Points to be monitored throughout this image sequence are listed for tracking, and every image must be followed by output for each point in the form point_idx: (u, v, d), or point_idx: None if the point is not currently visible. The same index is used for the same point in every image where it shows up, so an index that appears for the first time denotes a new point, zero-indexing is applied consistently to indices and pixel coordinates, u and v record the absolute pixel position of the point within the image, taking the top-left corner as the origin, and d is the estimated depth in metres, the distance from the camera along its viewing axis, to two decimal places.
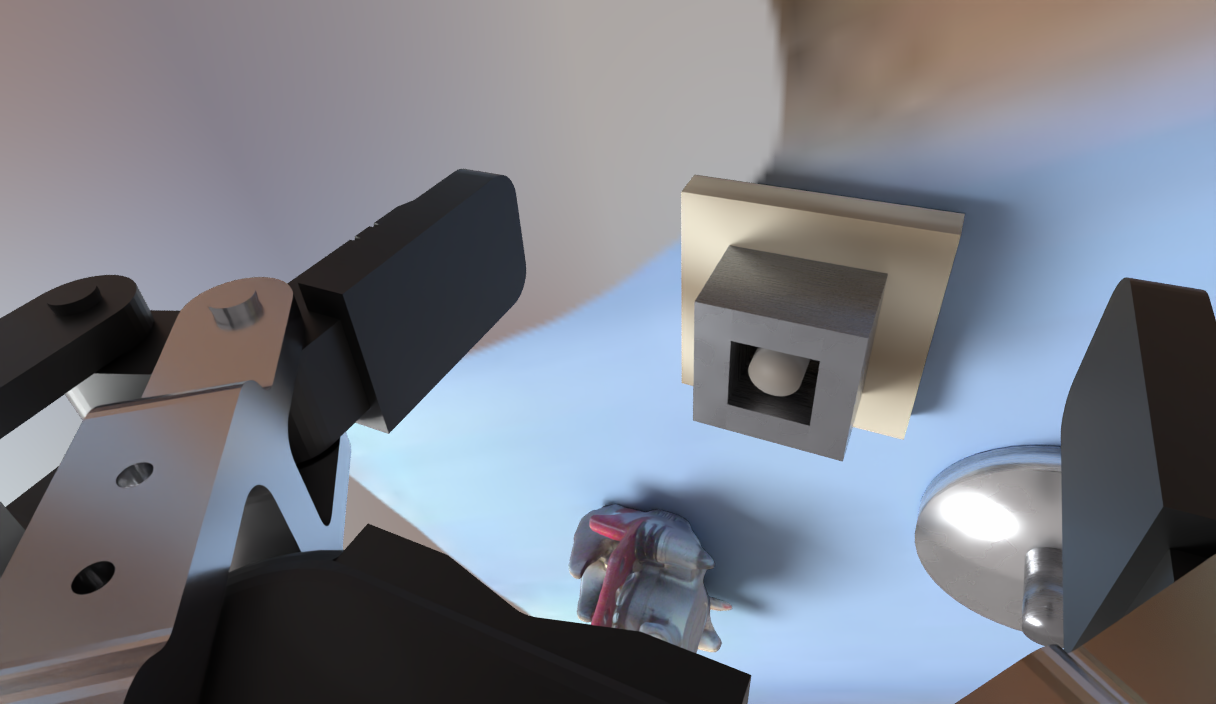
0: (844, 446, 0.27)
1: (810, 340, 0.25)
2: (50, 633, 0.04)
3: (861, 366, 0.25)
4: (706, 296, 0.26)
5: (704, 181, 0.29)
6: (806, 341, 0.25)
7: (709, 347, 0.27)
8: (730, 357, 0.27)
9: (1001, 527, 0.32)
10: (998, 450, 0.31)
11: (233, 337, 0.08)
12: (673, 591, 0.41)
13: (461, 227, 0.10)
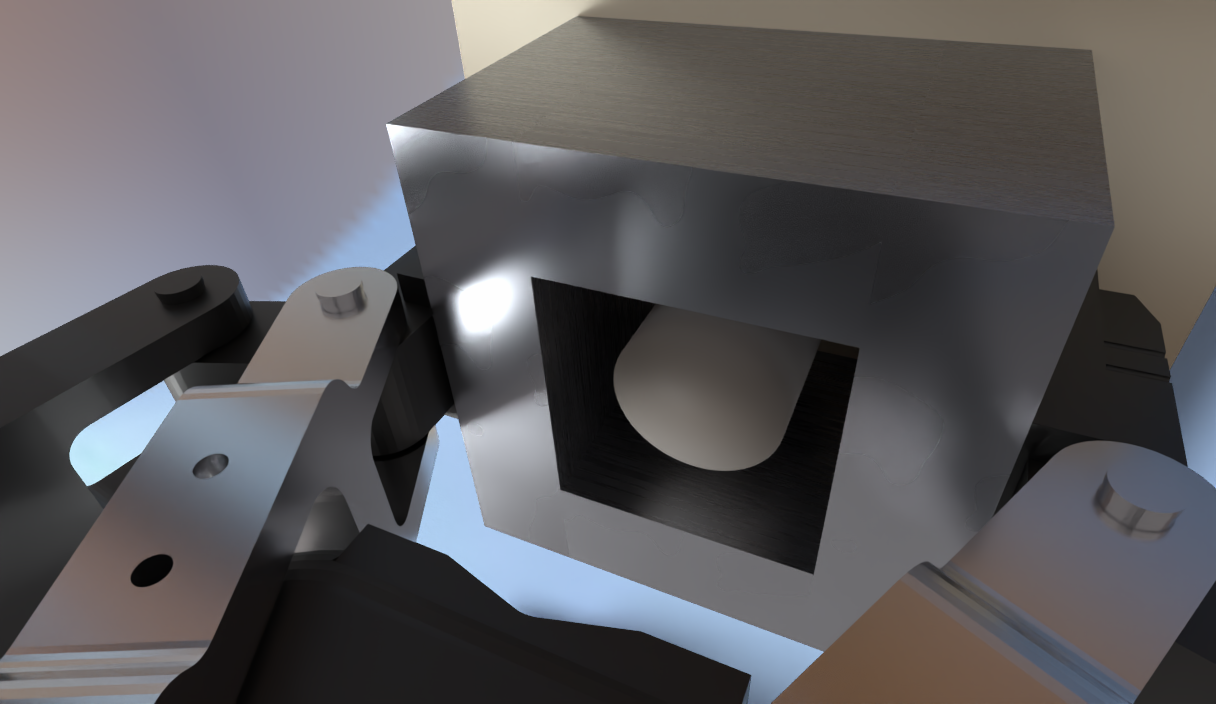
0: None
1: (822, 254, 0.06)
2: (103, 624, 0.04)
3: (1048, 369, 0.06)
4: (439, 111, 0.07)
5: None
6: (805, 262, 0.06)
7: (475, 306, 0.08)
8: (544, 340, 0.08)
9: None
10: None
11: (346, 326, 0.08)
12: None
13: None
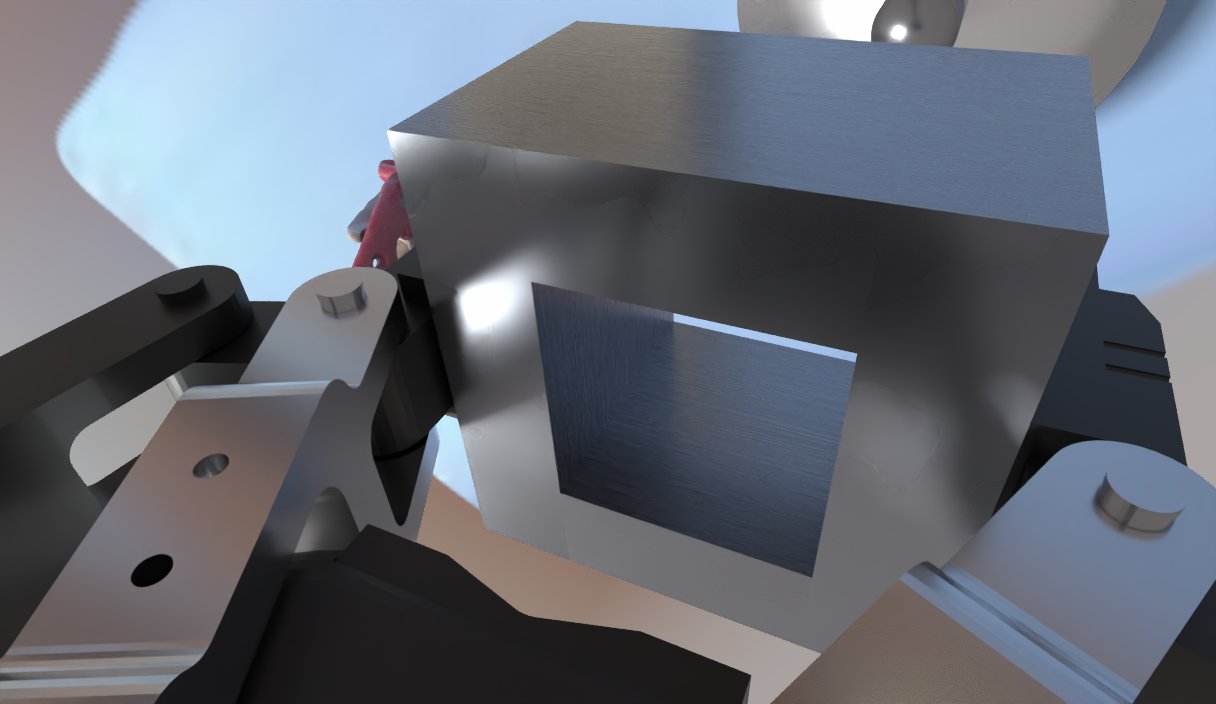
0: None
1: (820, 261, 0.06)
2: (103, 622, 0.04)
3: (1044, 375, 0.06)
4: (439, 117, 0.07)
5: None
6: (803, 268, 0.06)
7: (476, 311, 0.08)
8: (544, 344, 0.08)
9: None
10: None
11: (346, 326, 0.08)
12: None
13: None
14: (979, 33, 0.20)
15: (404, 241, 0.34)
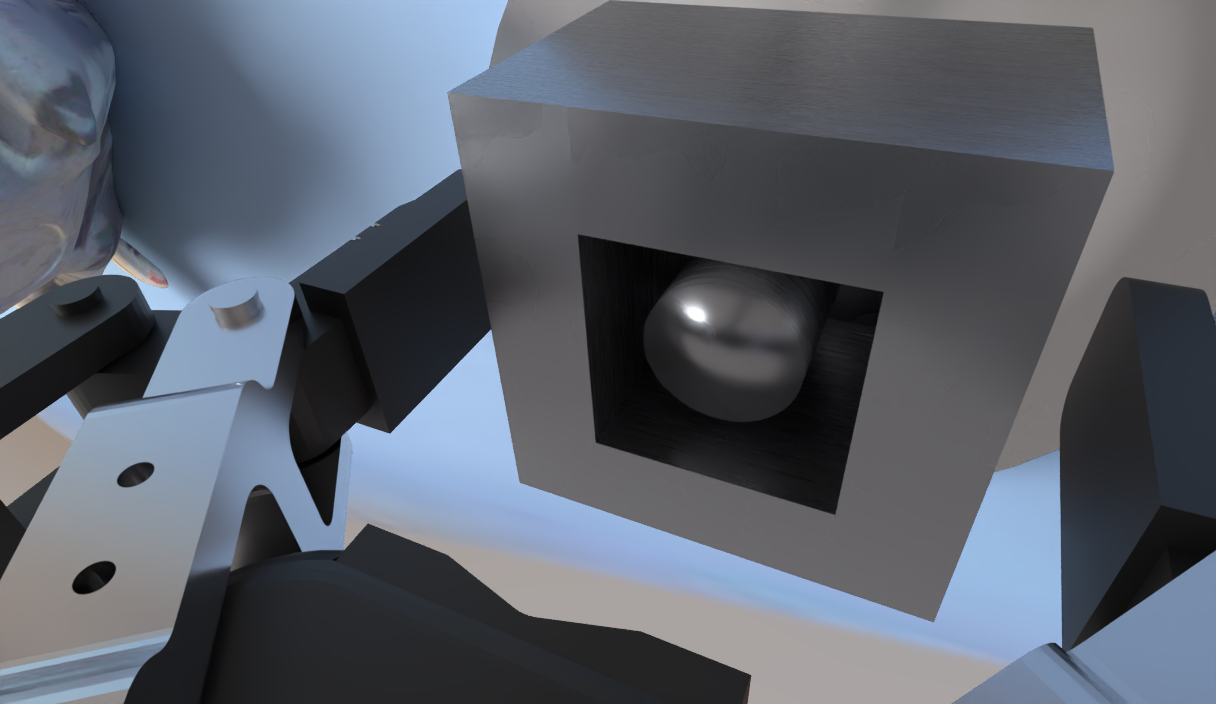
0: (944, 582, 0.09)
1: (851, 205, 0.06)
2: (53, 632, 0.04)
3: (1055, 306, 0.06)
4: (494, 81, 0.08)
5: None
6: (835, 212, 0.07)
7: (522, 265, 0.09)
8: (587, 296, 0.09)
9: None
10: None
11: (235, 337, 0.08)
12: None
13: (462, 227, 0.10)
14: None
15: None
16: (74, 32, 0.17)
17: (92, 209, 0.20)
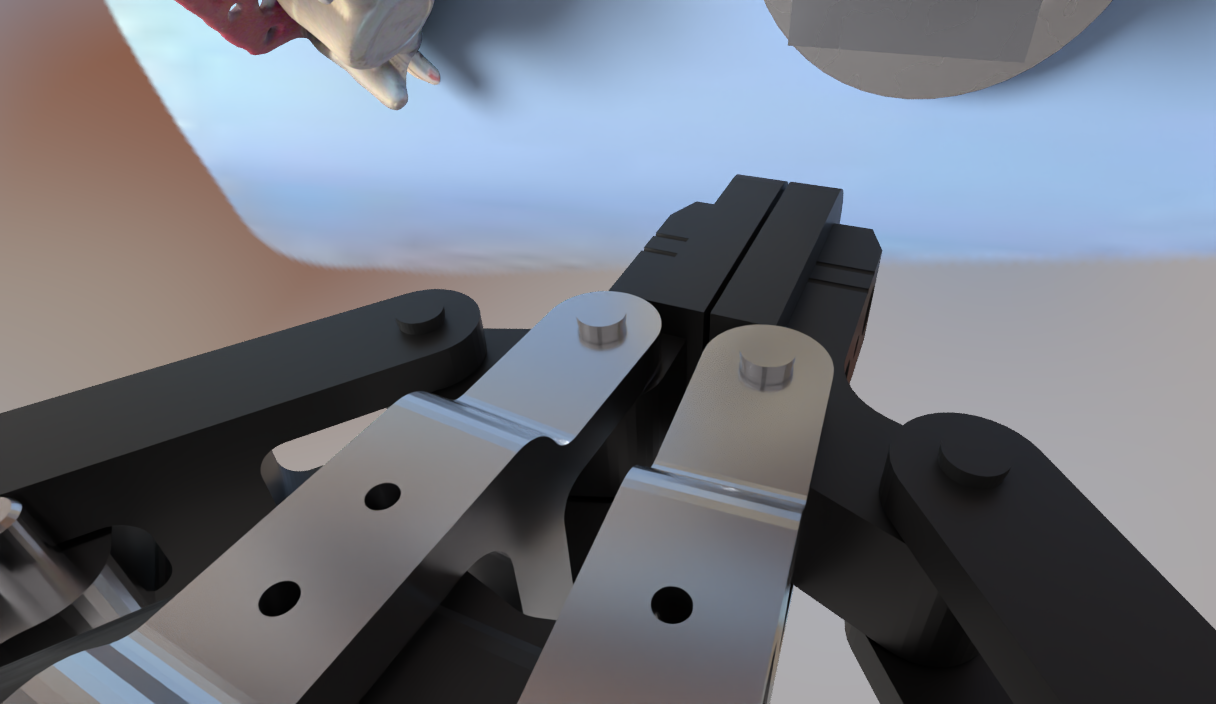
0: (1032, 28, 0.18)
1: None
2: (216, 640, 0.04)
3: None
4: None
5: None
6: None
7: None
8: None
9: None
10: None
11: (623, 362, 0.07)
12: None
13: None
14: None
15: None
16: None
17: None
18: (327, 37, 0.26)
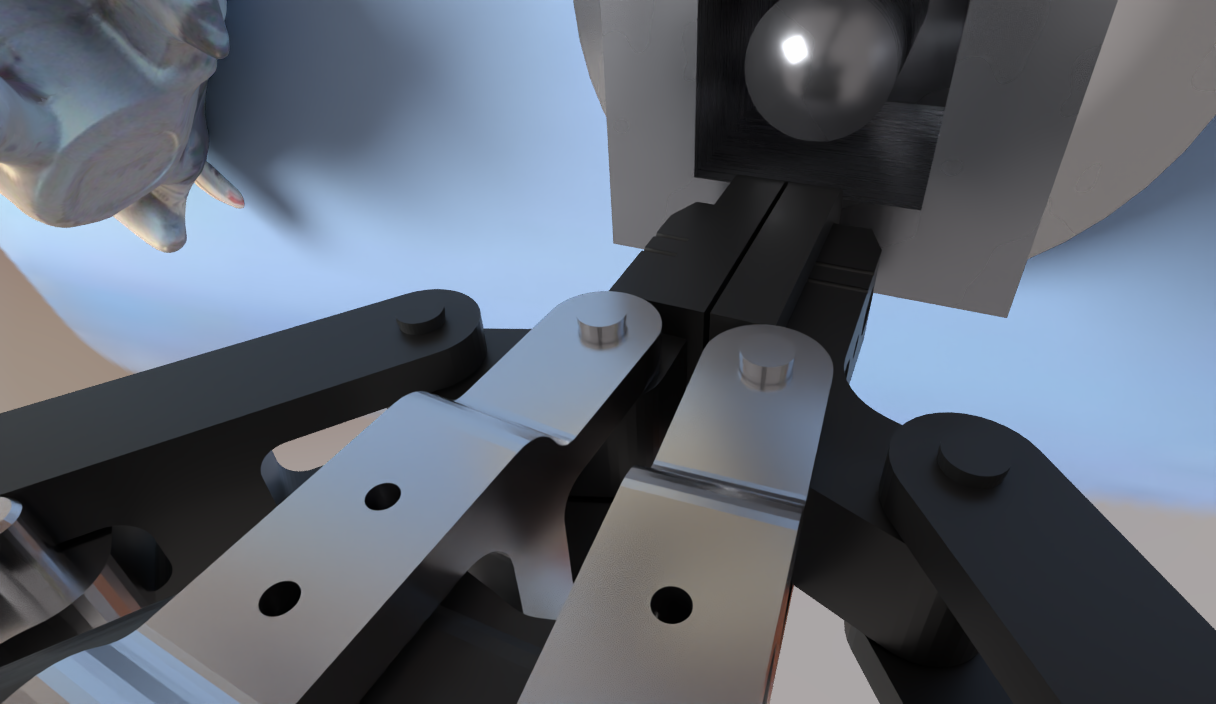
0: (1020, 266, 0.10)
1: None
2: (215, 639, 0.04)
3: None
4: None
5: None
6: None
7: None
8: (700, 8, 0.10)
9: None
10: None
11: (623, 362, 0.07)
12: (100, 56, 0.17)
13: None
14: None
15: None
16: None
17: None
18: (2, 194, 0.18)
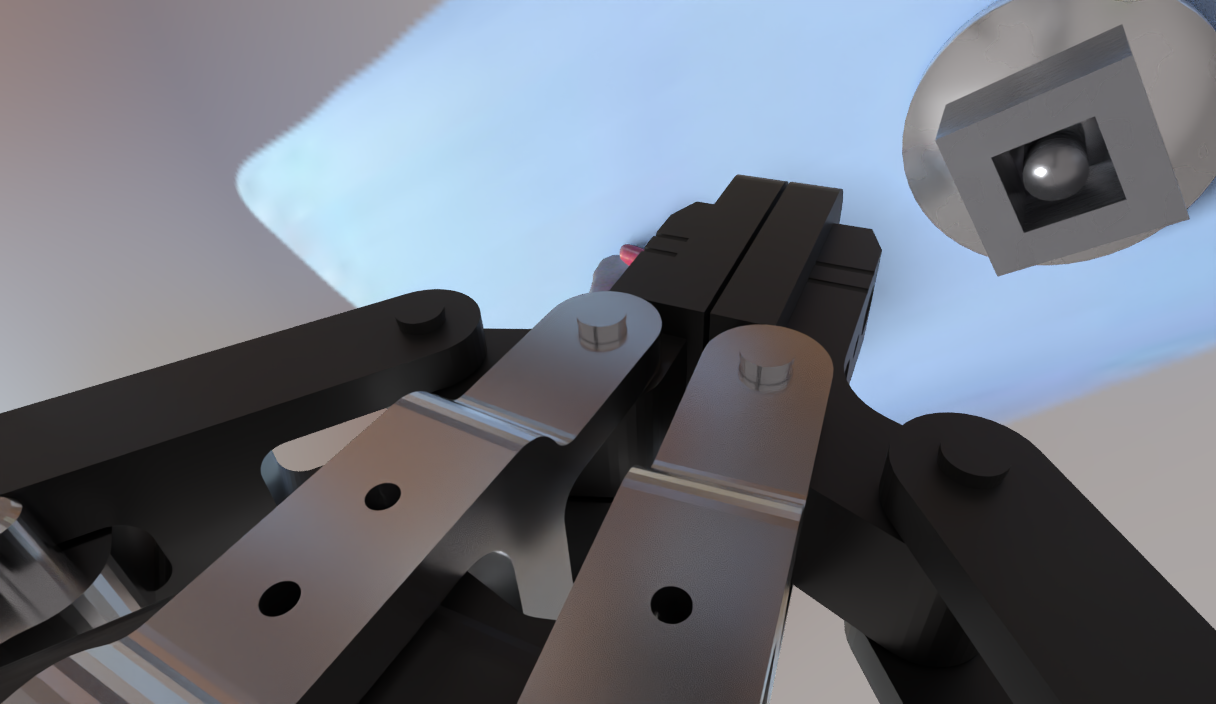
0: (1180, 198, 0.24)
1: (1071, 99, 0.24)
2: (215, 639, 0.04)
3: (1143, 91, 0.23)
4: (944, 132, 0.27)
5: None
6: (1068, 104, 0.24)
7: (974, 179, 0.27)
8: (1000, 177, 0.26)
9: None
10: (998, 1, 0.28)
11: (623, 362, 0.07)
12: None
13: None
14: None
15: None
16: None
17: None
18: None
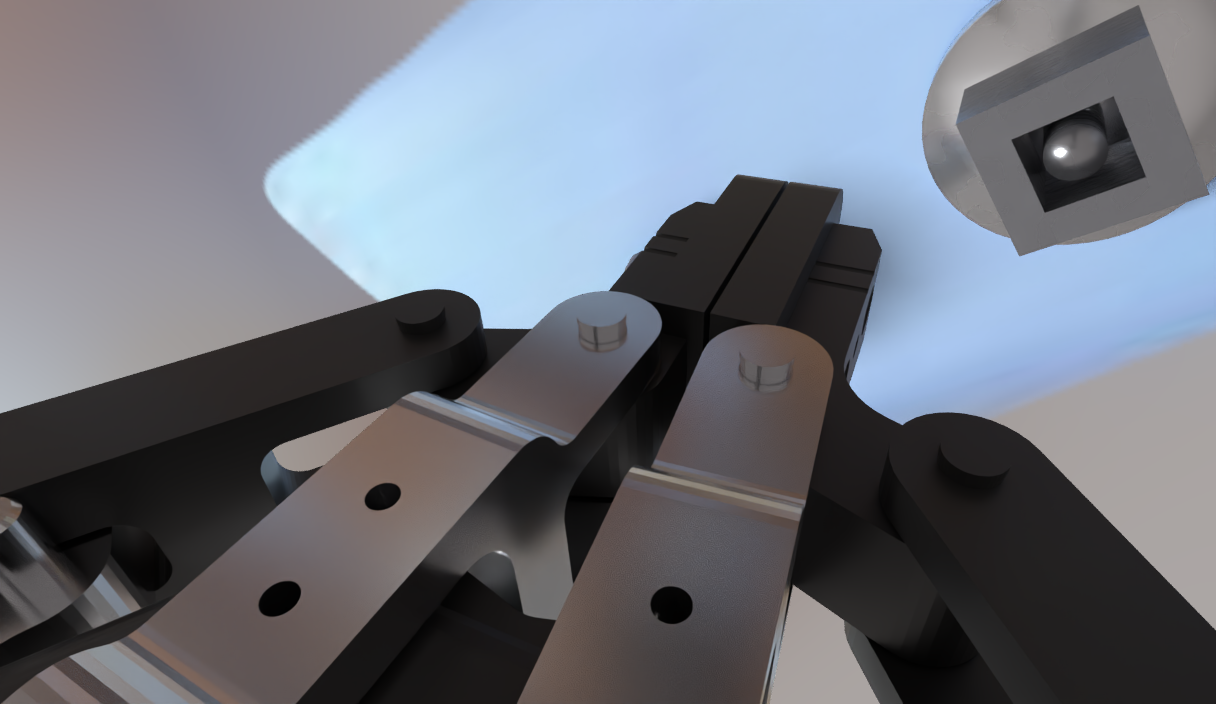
0: (1199, 174, 0.25)
1: (1090, 81, 0.24)
2: (215, 641, 0.04)
3: (1161, 70, 0.24)
4: (964, 116, 0.27)
5: None
6: (1087, 85, 0.25)
7: (994, 162, 0.27)
8: (1020, 159, 0.27)
9: None
10: None
11: (623, 362, 0.07)
12: None
13: None
14: None
15: None
16: None
17: None
18: None
